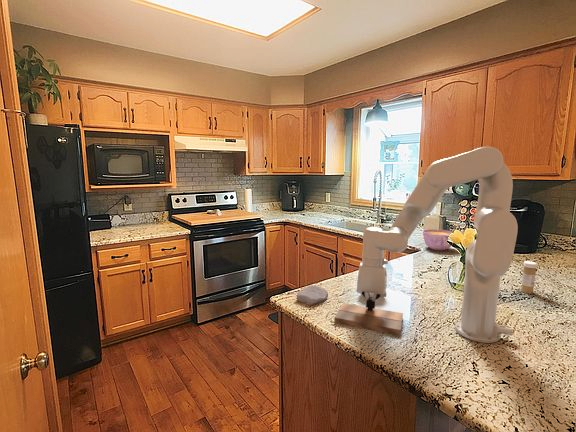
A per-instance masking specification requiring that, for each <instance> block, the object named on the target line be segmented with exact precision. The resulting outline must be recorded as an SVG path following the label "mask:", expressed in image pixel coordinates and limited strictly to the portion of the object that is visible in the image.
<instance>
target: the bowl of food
mask: <svg viewBox="0 0 576 432" xmlns="http://www.w3.org/2000/svg"><path fill="white" fill-rule="evenodd" d="M452 232H453V231H451V230H446V229H437V228H436V229H434V228H431V229H428V228H427V229H423V230H422V234H423V235H422V236H423V240H424V241H423V242H424V244H425V245H426V246H427V247H428V248H429V249H431V250H433V251H439V252H440V251H445V250H447V249H449V248H450V247H451V248H452V245H450V244H448V242H447V241H448V237H449V235H450V234H451V233H452Z"/></svg>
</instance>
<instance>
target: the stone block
mask: <svg viewBox="0 0 576 432" xmlns="http://www.w3.org/2000/svg"><path fill="white" fill-rule="evenodd" d="M328 297H329V292H328V291H327V290H326V289H325V288H323V287H321V286H318V285H312V284H311V285H308V286H307V287H305V288H304V289H303V290H301V291H298V292H297V293H296V300H297V302H300V303H303V304H306V305H309V306H312V305H315V304H319V303H321V302H324V301H326V300H327V299H328Z"/></svg>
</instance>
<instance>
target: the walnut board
mask: <svg viewBox="0 0 576 432" xmlns="http://www.w3.org/2000/svg"><path fill="white" fill-rule="evenodd" d="M333 321H334V323H335V324H339V325H344V326H349V327H355V328H358V329H359V328H360V329H363V330H369V331H370V330H371V331H374V332H375V331H376V332H380V333H384V334H390V335H393V336H394V335H395V336H401V335H402V327H403V321H402V322H401V321H396V320H390V319H385V318H379V317H373V316H368V315H362V314H357V313H351V312H346V311H340V310H339V309H338V311H337V312H336V314H335V316H334V320H333Z"/></svg>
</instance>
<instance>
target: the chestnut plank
mask: <svg viewBox="0 0 576 432" xmlns="http://www.w3.org/2000/svg"><path fill="white" fill-rule="evenodd" d="M338 310H340V311H346V312H351V313H357V314H362V315H368V316H373V317H379V318H385V319H390V320H396V321H401V322H402V323H403V318H404V317H403V316H404V313H403V312H399V311H397V312H396V311H392V310H387V309H386V310H385V309H380V308H373V310H372V311H368V307H366V306H362V305H357V304H350V303H345V302H342V303H341V305H340V307H339V309H338Z"/></svg>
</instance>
